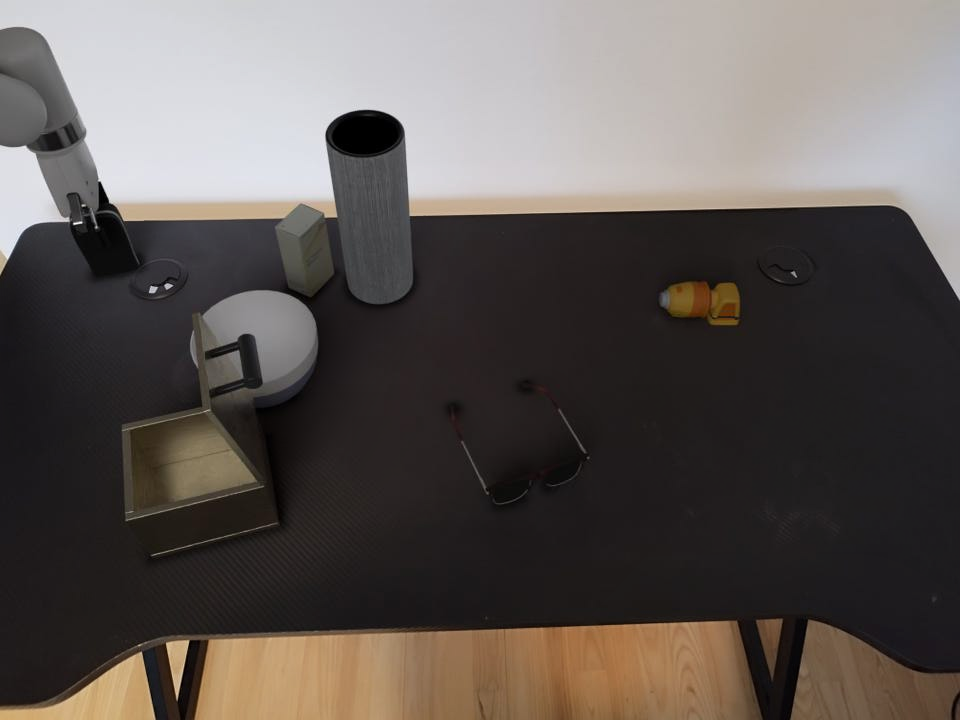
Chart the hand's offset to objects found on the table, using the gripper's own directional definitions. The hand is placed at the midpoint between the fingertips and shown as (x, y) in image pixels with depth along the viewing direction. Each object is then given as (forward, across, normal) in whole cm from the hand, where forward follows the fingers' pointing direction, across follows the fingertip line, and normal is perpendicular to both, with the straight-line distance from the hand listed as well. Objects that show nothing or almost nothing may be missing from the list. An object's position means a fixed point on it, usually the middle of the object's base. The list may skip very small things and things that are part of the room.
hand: (99, 226), depth 115 cm
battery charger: (+8, 0, 0) cm, 8 cm away
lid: (-10, +44, +16) cm, 48 cm away
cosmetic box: (+8, +11, +28) cm, 31 cm away
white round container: (+8, +28, +19) cm, 35 cm away
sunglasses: (+8, +47, +48) cm, 68 cm away
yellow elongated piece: (+8, +33, +82) cm, 89 cm away
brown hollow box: (+8, +44, +10) cm, 46 cm away
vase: (+8, +14, +38) cm, 41 cm away
